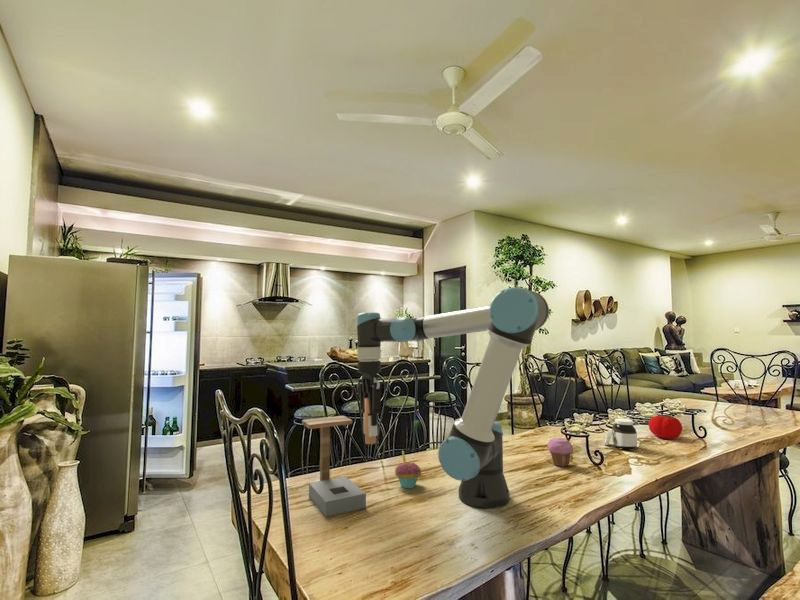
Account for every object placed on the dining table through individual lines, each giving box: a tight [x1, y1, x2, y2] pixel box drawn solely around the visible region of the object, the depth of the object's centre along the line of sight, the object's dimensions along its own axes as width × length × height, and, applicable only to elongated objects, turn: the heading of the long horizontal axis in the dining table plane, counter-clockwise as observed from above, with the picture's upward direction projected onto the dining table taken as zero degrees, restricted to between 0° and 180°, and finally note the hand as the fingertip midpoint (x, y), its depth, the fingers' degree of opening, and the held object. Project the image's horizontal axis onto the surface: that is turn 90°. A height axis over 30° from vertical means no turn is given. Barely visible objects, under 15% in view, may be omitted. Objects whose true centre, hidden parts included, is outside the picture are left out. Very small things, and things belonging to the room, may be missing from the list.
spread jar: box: [603, 418, 638, 450], centre depth 180 cm, size 12×11×12 cm
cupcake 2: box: [547, 437, 574, 468], centre depth 156 cm, size 9×9×10 cm
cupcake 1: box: [394, 448, 422, 489], centre depth 137 cm, size 9×8×12 cm
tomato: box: [648, 414, 683, 440], centre depth 194 cm, size 13×12×11 cm
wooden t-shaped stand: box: [301, 415, 353, 481], centre depth 132 cm, size 8×14×22 cm, turn 118°
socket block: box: [308, 475, 367, 518], centre depth 124 cm, size 16×12×4 cm
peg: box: [364, 398, 377, 445], centre depth 133 cm, size 3×3×14 cm
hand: (370, 434), depth 133 cm, fingers closed on peg, 3 cm apart
